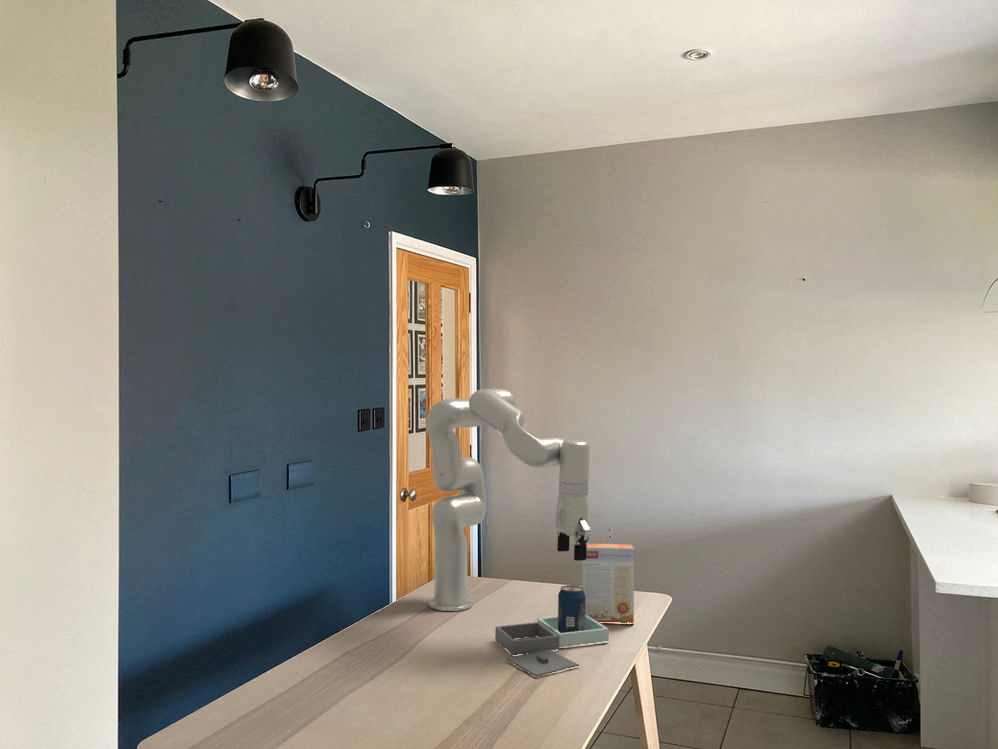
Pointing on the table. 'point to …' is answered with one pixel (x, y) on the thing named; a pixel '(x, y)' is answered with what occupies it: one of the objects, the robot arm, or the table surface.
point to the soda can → (571, 609)
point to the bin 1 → (524, 646)
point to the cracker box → (609, 582)
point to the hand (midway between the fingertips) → (571, 555)
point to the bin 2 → (578, 632)
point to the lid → (542, 662)
